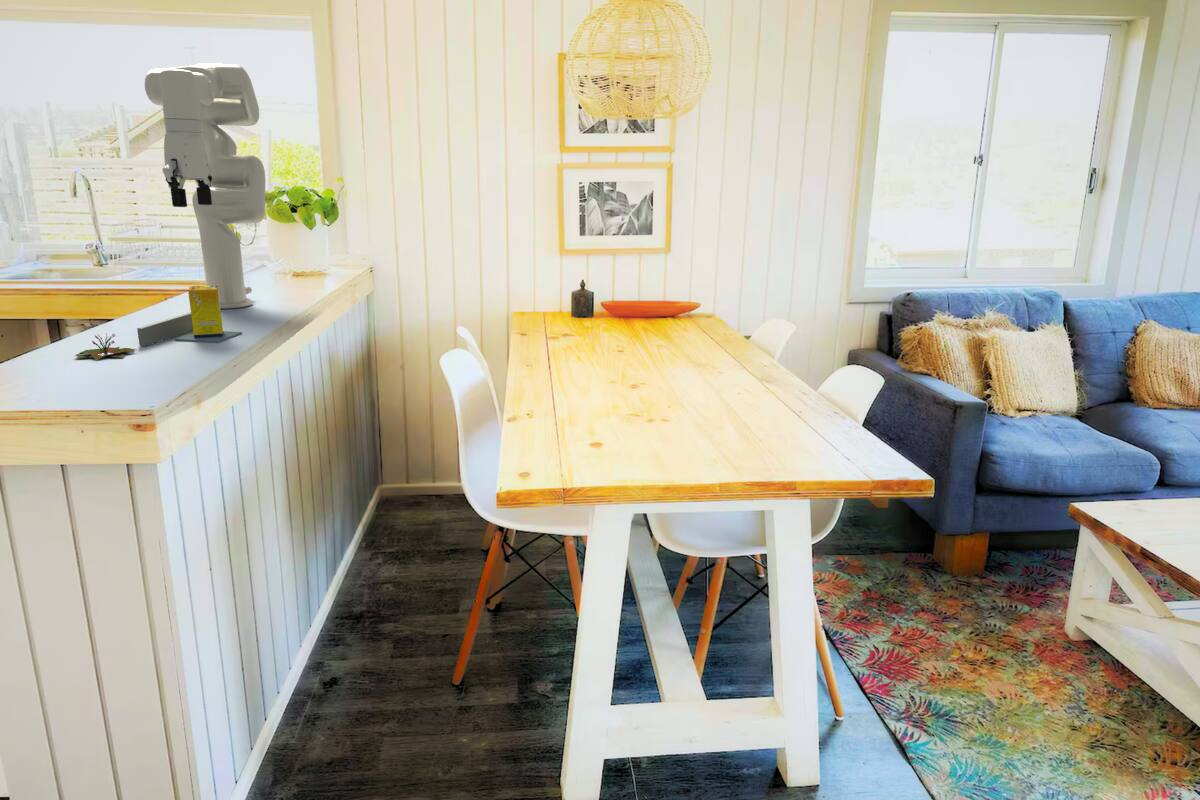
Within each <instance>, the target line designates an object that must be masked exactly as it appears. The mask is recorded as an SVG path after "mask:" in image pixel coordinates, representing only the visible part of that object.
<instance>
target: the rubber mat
mask: <svg viewBox="0 0 1200 800" xmlns="http://www.w3.org/2000/svg"><path fill="white" fill-rule="evenodd" d="M239 334H240V335H242V334H243V331H229V330H228V331H227V330H223V337H211V338H194V333H193V332H191V333H188V334H185V335H181V336H180V337H176V338H174V341H175V340H180V341H179V342H193V341H200V342H199V343H212V342H216V344H218V343H221V342H223V340H224V341H226V340H229V339H232V338H234V337H237V336H239ZM236 335H237V336H236ZM231 337H232V338H231ZM228 338H229V339H228Z"/></svg>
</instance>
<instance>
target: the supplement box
mask: <svg viewBox="0 0 1200 800" xmlns="http://www.w3.org/2000/svg"><path fill="white" fill-rule="evenodd" d="M187 292H188V300H189V306H190V308H189V309H190V313H191V316H192V324H193V331H192V333H194V338H211V337H223V331H224V329H223V320H222V310H221V309H220V301H219V292H218V286H217V285H210V286H206V285H191V286H189V287H188V290H187Z"/></svg>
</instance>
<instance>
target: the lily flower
mask: <svg viewBox="0 0 1200 800" xmlns="http://www.w3.org/2000/svg"><path fill="white" fill-rule="evenodd" d="M105 336H106V337H105V339H104V340H103V338H102V337H101V336H100V335H99V334H98V333H97V335H94V337H95V338H96V339H98V341H99V343H100V345H101V346H99V344H97V343H96V341H94V340H91V342H92V344H93V345H94V346H96V347H98V348H94V349H85V350H83V351H80V352H79V353H76V354H75V356H76V355H78V356H77V357H76V358H74V360H77V359H78V360H79V359H88V358H93V359H95V361H98V360H100V359H102V358H105V357H108V356H111V355H112V356H113V355H117V354H118V353H119V354H118V355H117V357H116V358H121V359H123V358H124V356H125V353H128V354H131V353H134V352H136V351H134V350H133V349H131V348H132V347H123V348H121V347H120V346H116V347H112V346H111V345H113V344H115V343H116V342H115V340H112V341H110V340H111V339H112V338H114V337H116V335H115V333H113V334H111V336H109V338H108V333H106V334H105ZM121 352H122V353H121ZM102 353H104V354H106V355H103V354H102ZM108 353H109V354H108ZM112 353H114V354H112ZM98 354H99V355H98ZM101 354H102V355H101ZM134 354H135V353H134ZM90 356H91V357H90Z"/></svg>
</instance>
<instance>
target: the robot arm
mask: <svg viewBox="0 0 1200 800" xmlns="http://www.w3.org/2000/svg"><path fill="white" fill-rule="evenodd" d="M144 91H145V94H146V96H147V98H148V99H149V100H150V102H151V103H152V104H153V105H156V106H162V111H163V118H164V119H163V120H164V129H165V134H164V139H163V141H164V142H163V154H164V155H163V157H164V166H163V168H162V173H163V175H164V177H165V182H167V184H168V189H170V196H171V203H172V207H174V208H187V207H188V202H187V200H188V199H187V194H186V188H184V186H185V182H186V181H194V182H195V183H196V185H197V187H196V190H195V191H194V193H193V194H192V206H193V210H194V214H195V217H196V221H197V225H198V230H199V235H200V237H199V238H200V243H201V244H200V245H201V252H202V253H201V254H202V262H203V270H204V279H205V280H204V281H205V286H210V285H217V286H218V292H219V301H220V310H221V309H223V310H224V309H235V308H236V309H238V308H245V307H248V306H251V305H252V304H253V300H252V299H251V298H248V297H247V294H248V295H249V294H251V293H252V291H253V290H252V287H250V286H245V278H244V269H243V260H242V259H243V258H242V250H241V241H240V239H239V237H238V236H239V235H237V233H236V232H235V231H234V230H233V229H232V228H230V226H229V225H230V224H231V225H232V224H247V225H248V224H257V223H261V222H262V221H263V220H264V218H265V214H266V171H265V167H264V164H263V162H262V161H261V159H260V158H259V157H257V156H254V155H249V154H248V155H247V154H237V144H236V141H234V139H233V138H232V137H231V136H230V135H229V134H228V133H227V132H226V131H225V130H223V129H222V128H221V127H219V126H237V127H239V126H240V127H241V126H242V127H252V126H255V125H256V124H257V123H258V121H259V119H260V107H259V103H258V100H257V96H256V93H255V90H254V86H253V84H252V81H251V78H250V75H249V74H248V72H247V71H246V69H244V68H243V67H242V66H240V65H238V64H228V63H227V64H225V63H224V64H223V63H208V62H205V63H197V64H194V65H189V66H188V65H187V66H177V67H165V68H164V67H163V68H155V69H151V70H149V71H148V72H147V74H146V75H145V78H144Z"/></svg>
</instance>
